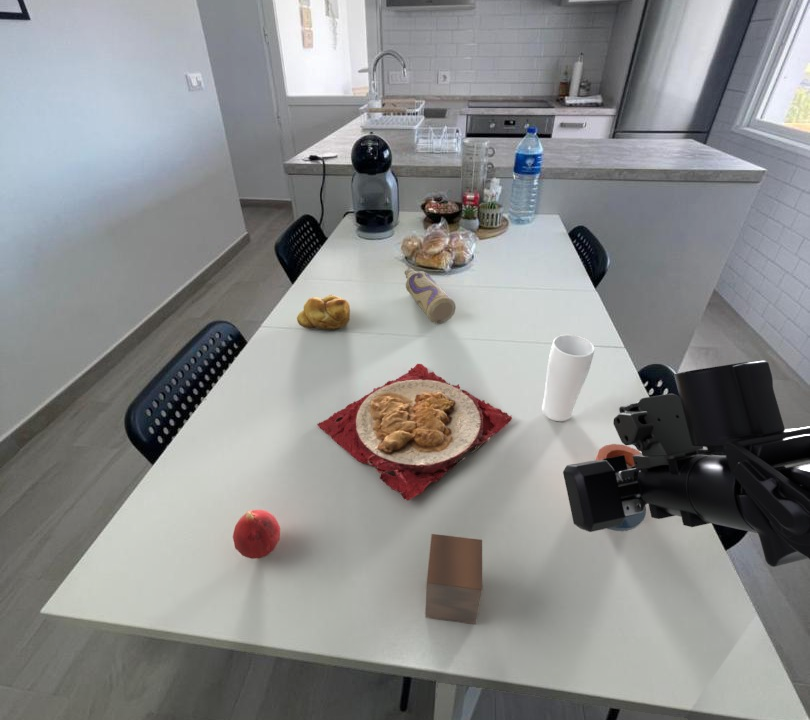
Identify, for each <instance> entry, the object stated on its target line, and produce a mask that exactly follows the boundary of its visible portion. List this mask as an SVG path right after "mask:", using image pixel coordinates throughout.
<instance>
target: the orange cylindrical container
mask: <svg viewBox="0 0 810 720" xmlns="http://www.w3.org/2000/svg"><path fill="white" fill-rule="evenodd" d="M638 454H642V452H641V451H638V450H637V448H633V447H631V446H629V445H625V444H619V443H610V444H605V445H604V446H602V447H601V448H600V449H598V452H597V454H596V457H595V460H594V461H597V460H603V459H605V458H611V457H616V456H621V455H624V456H625V460H626V464H628V465H629V466H630V467H631V466H635V465H634V460H633V455H638Z"/></svg>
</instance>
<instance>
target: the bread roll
mask: <svg viewBox="0 0 810 720" xmlns="http://www.w3.org/2000/svg"><path fill="white" fill-rule="evenodd" d="M350 307H351V306H350V303H349V301H348V300H347V299H345V298H342V297H340V296H338V295H333V294H328V295H327V296H324V297H323V298H321V297H319V296H313V297H309V298H308V299H307V300H306V301H305V302H304V305H303V310H301V311H300V312H299V313H298V314H297V316H296V321H297V323H298V325H299V326H300V327H303V328H305V329H318V330H324V331H334V330H339V329H342V328H344V327H345V326H346V325H347V324H348V323H349V321H350V319H351V308H350Z"/></svg>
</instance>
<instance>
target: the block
mask: <svg viewBox="0 0 810 720" xmlns="http://www.w3.org/2000/svg"><path fill="white" fill-rule="evenodd" d="M429 545H430V546H429V556H428V565H427V574H426V587H425V589H426V590H425V612H424V615H425V616H424V618H427V619H434V620H441V621H448V622H455V623H463V624H470V625H477V620H478V615H479V611H480V603H481V598H482V594H483V539H479V538H471V537H462V536H453V535H445V534H437V533H431V534H430V544H429Z"/></svg>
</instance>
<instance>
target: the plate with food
mask: <svg viewBox="0 0 810 720" xmlns="http://www.w3.org/2000/svg"><path fill="white" fill-rule="evenodd" d="M407 371H408V372H407V373H404V374H403V375H401V376H399V377H398V378H396V379H394V380H393V379H392V380H388V381H386V383H384V384H383V385H382V386H378V387H374V388H373V389H372V391H370V393H368V394H365V395H364V396H363V397H361V398H360V399H358V400H355V401H353V402H352V403H351V402H350V403H349V404H348V405H346V406H345V408H342V409H340V410H338V411H337V412H334V413H333V414H332V415H330V416H329V417H328V418H326V419H324V420H322V421H321V422H318V423H317V424H316V425H317V426H318V427H319V428H320V429H321V430H322V431H323V432H324V433H325V434H326V435H329V436H330V437H331V439H332V440H333V441H334V442H335V443H336V444H338V445H339V446H340V447H341V448H342V449H344V451H346V452H347V453H348V454H350V456H351V457H353V458H354V459H355V460H356V461H358V462H359V463H361V464H367V465H369V466H372V467H374V468H376V472H378V473H379V474H380V476H379V480H380V481H382V482H383V483H385V485H386V486H387V487H389V488H390V489H391V490H393V491H396V492H397V493H401V496H402V498H403V499H404V500H405V501H409V500H412V499H413V498H415V497H417V496H418V495H420V494H421V495H422V493H423V492H424V491H425V489H426V487H428V485H430V484H431V483H438V481H440V479H442V477H443V476H444V475H445V474H446V473H448V472H449V471H450V470H453V468H455V467H456V466H457V465H458V464H459V463H460V462H463V461H464V460H465V459H466V456H464V457H462V456H463V455H464V454H465V453H467V452H469V450H470V449H471V448H474V449H472V450H470V453H472V454H473V453H475V452H476V451H478V449H480V448H481V447H482V446H483V445H484V444H485V443H489V441H491V438H492V436H493V435H496V434H497V433H499V432H500V431H501V430H502V429H503V428H505V427H506V426H508V424H509V423H510V422H511V421H512V419H513V417H512V415H509V414H508V413H507V412H505V411H503V410H501V408H497V407H494V406H493V405H491V404H490V403H489V402H485V400H484V399H483V400H481V399H480V398H478V397H476V396H474V395H472V394H470V392H468V391H467V390H465V389H461V386H460V384H451V383H449V382H447V381H446V380H445V379H444V378H443V377H441V376H438V375H437V374H436V373H435V372H434V371H432V372H429V369H428V368H427V367H426V366H425V365H423V364H422V363H416V364H415V365H414V367H410V369H408V370H407ZM340 418H341V419H340ZM338 419H340V420H338ZM461 457H462V458H461ZM387 472H394V475H392V474H389V473H387Z"/></svg>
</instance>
